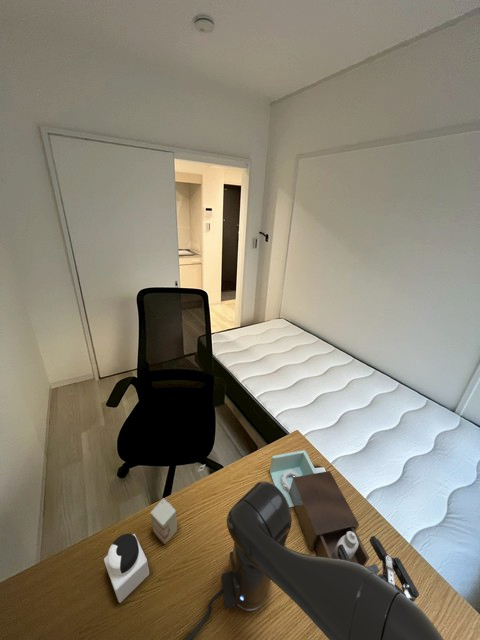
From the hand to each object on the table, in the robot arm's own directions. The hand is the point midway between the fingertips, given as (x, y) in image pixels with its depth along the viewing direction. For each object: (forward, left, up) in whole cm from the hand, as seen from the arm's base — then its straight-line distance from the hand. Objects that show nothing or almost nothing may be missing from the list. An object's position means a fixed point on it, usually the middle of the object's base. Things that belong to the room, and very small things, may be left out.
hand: (355, 541), depth 56 cm
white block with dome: (-52, +9, -14) cm, 55 cm away
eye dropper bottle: (0, +1, -12) cm, 12 cm away
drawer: (0, 0, -13) cm, 13 cm away
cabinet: (0, +12, -13) cm, 18 cm away
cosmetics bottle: (-44, +16, -14) cm, 49 cm away
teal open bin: (-4, +22, -13) cm, 26 cm away
